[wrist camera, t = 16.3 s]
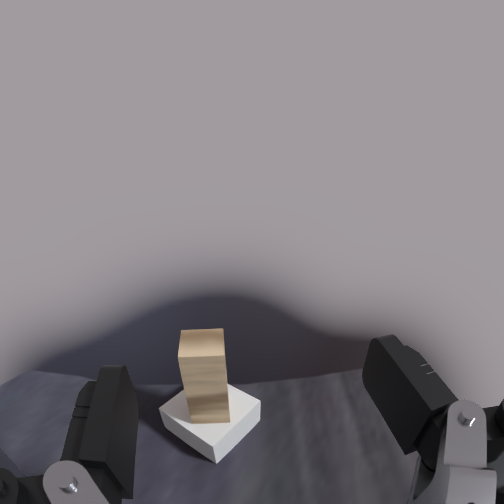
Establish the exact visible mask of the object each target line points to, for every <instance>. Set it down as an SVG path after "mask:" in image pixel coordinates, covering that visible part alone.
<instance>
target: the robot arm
mask: <svg viewBox="0 0 504 504" xmlns="http://www.w3.org/2000/svg"><path fill="white" fill-rule="evenodd" d="M362 378H363V383H364V386H365V388H366V390H367V391H368V393H369V395H370V396H371V398H372V400H373V401H374V403H375V405H376V406H377V408H378V410H379V411H380V413H381V415H382V416H383V418H384V420H385V421H386V423H387V425H388V427H389V428H390V430H391V432H392V433H393V435H394V437H395V438H396V440H397V442H398V444H399V445H400V447H401V449H402V450H403V452H404V454H405V455H407V454H409V453H412V452H414V451H418V453H419V457H418V459H417V462H416V467H415V472H414V477H413V481H412V485H411V490H410V494H409V498H408V501H407V504H504V399H503V401H502V402H501V404H500V405H499V406H494V407H488V408H481V407H480V406H479V405H478V404H476V403H474V402H472V401H469V400H458V399H457V398H456V397H455V395H454V394H453V393H452V392H451V390H450V389H449V388H448V387H447V386H446V384H445V383H444V382H443V381H442V380H441V378H440V377H439V376H438V375H437V374H436V372H434V370H433V369H432V368H431V366H430V365H429V364H428V365H427V362H426V361H425V359H424V358H423V357H422V356H421V355H420V354H419V353H418V352H417V351H415V350H413V349H412V348H410V347H408V346H403V345H402V343H401V342H400V341H399V340H398V338H397V337H396V336H394V335H387V336H382V337H378V338H374V339H372V340H371V342H370V345H369V349H368V353H367V356H366V361H365V364H364V368H363V372H362ZM75 406H76V408H74V411H73V415H72V417H73V418H72V419H71V422H70V426H69V429H68V433H67V437H66V441H65V445H64V449H63V453H62V457H61V460H60V461H59V462H57V463H54V464H53V465H51V466H50V467H49V468H48V469H47V471H46V472H45V474H44V475H39V476H31V477H26V476H25V475H24V474H23V473H22V472H21V471H20V470H19V469H18V467H17V466H16V465H15V464H14V463H13V462H12V461H11V460H10V459H9V458H8V456H7V455H6V454H5V453H4V452H3V451H2V449H1V448H0V504H121V502H122V498H124V499H133V484H134V467H135V453H136V441H137V430H138V420H139V405H138V399H137V396H136V393H135V390H134V387H133V385H132V382H131V379H130V376H129V373H128V370H127V367H126V366H125V365H112V366H111V365H109V366H108V365H104V366H102V367H101V369H100V372H99V375H98V379H97V381H88V382H87V384H86V385H85V386H84V387H83V388H82V390H81V391H80V392H79V394H78V398H77V401H76V404H75Z"/></svg>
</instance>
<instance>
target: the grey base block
mask: <svg viewBox="0 0 504 504" xmlns="http://www.w3.org/2000/svg"><path fill="white" fill-rule="evenodd" d="M227 386H228V397H229V411H230V423H207V424H192V421H191V417H190V413H189V408H188V404H187V399H186V395H185V390H182V391H181V392H180V393H178V394H177V395H176V396H174V397H173V398H172V399H170V400H169V401H168V402H166V403H165V404H164V405H162V406H161V407H160V408H159V411H160V414H161V417H162V420H163V423H164V426H165V428H167V429H168V430H169V431H171V432H172V433H173V434H175V435H176V436H177V437H179V438H180V439H181V440H183V441H184V442H185V443H187V444H188V445H190V446H191V447H192V448H194V449H195V450H197V451H198V452H199V453H201V454H202V455H204V456H205V457H207V458H208V459H210V460H211V461H213V462H214V463H216V464H217V463H218V462H219V461H220V460H221V459H222V458H223V457H224V456H225V455H226V454H227V453H228V452H229V451H230V450H231V449H232V448H233V447H234V446H235V445H236V444H237V443H238V442H239V441H240V440H241V439H242V438H243V437H244V436H245V435H246V434H247V433H248V432H249V431H250V430H251V429H252V428H253V427H254V426H255V425H256V424H257V423H258V422H259V421H260V400H258V399H256V398H254V397H252V396H250V395H248V394H246V393H244V392H242V391H240V390H238V389H237V388H235V387H233V386H231V385H229V384H227Z"/></svg>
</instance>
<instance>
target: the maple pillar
mask: <svg viewBox="0 0 504 504" xmlns="http://www.w3.org/2000/svg"><path fill="white" fill-rule="evenodd" d="M178 360H179V365H180V371H181V376H182V380H183V385H184V390H185V395H186V399H187V404H188V408H189V413H190V417H191V421H192V424H207V423H230V411H229V397H228V386H227V374H226V361H225V348H224V334H223V329H204V330H181V337H180V345H179V352H178Z"/></svg>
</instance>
